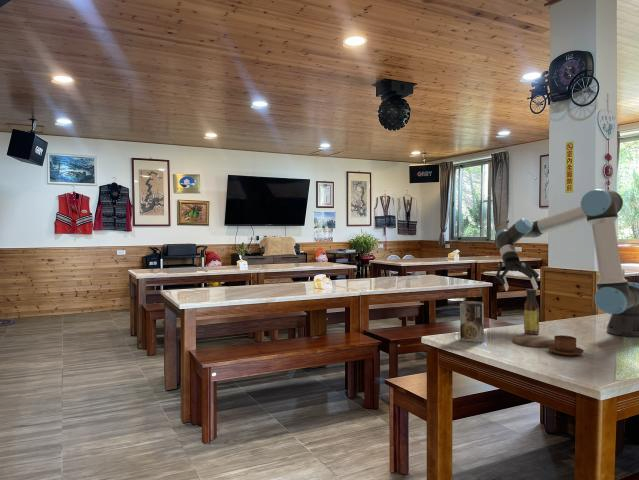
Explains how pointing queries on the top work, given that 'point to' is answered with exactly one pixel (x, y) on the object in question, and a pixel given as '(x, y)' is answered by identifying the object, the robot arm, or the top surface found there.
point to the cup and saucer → (565, 346)
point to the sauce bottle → (531, 313)
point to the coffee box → (471, 321)
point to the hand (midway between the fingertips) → (521, 289)
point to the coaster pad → (533, 341)
